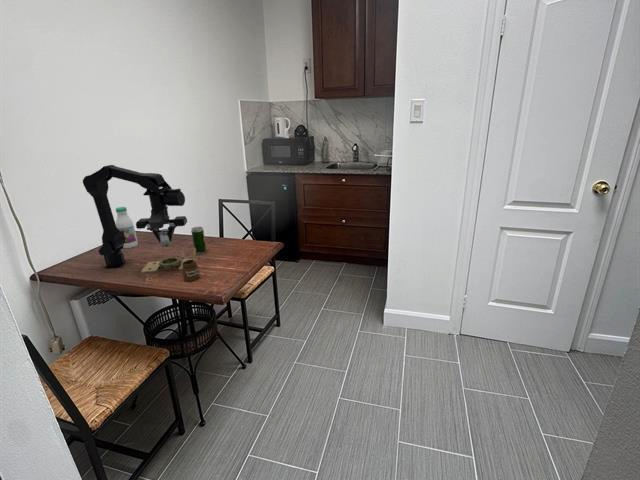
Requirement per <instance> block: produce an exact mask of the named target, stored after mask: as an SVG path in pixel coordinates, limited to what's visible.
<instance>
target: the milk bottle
mask: <svg viewBox="0 0 640 480" xmlns="http://www.w3.org/2000/svg"><path fill="white" fill-rule="evenodd" d="M115 213H116V215H117V216H116V220H115V224H116V227H117V229H119V230H120V231H124V236H125V238H126V239H125V244H124V246H123V249H132V248H135V247H137V246H138V245H139V242H138V238H137V237H138V236H137V234H136V229H135V226H134V222H133V220H132V218H131V217H130V216H129V215H128V210H127V207H126V206H119V207H116V208H115Z"/></svg>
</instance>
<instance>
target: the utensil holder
mask: <svg viewBox="0 0 640 480" xmlns="http://www.w3.org/2000/svg"><path fill="white" fill-rule="evenodd" d="M182 255H183V256H184V253H182V254H179V258H180V260H181V264H182V266H183V268H182V270H181V271H182V276H183V280H185V281H186V282H193V281H196V280H198V279H199V277H200V271H199V270H200V269H199V266H198V264H197V263H196V261H195V260H194V259H196V258H195V257H196V255H197V254H196V248H194V247H193V251H192V255H193V258H192V259H193V260H185V261H184V262H183V260H184V259H183V258H182ZM182 262H183V263H182Z"/></svg>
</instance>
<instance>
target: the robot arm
mask: <svg viewBox="0 0 640 480" xmlns="http://www.w3.org/2000/svg"><path fill="white" fill-rule="evenodd" d="M113 178H115V179H119V180H124V181H127V182H130V183H134V184H137V185H139V186H140V187H141V188H143V189H146V190H145V192H144V193H143V196H148V198H149V201H150V202H149V203H150V208H151V210H150V217H147V218H146V217H145V218H140V219H139V220H137V221H136V222H135V227H136V229H138V230H140V229H145V228H146V230H147V231H150V232H151V233H152V234H153V235H154V236H155V237H156V239H157V240H158V243H161V242H160V237H159V233H158V231H159V230H160V229H163V228H164V225H169V226H168V227H167V229H168V230H169V238H170V242H171V243H172V242H173V237H174V233H175V229H176V228H177V227H184V226H186V224H187V223H188V218H187V216H185V215H184V216H183V215H181V216H176V217H174V218H172V219H170V218H171V216H170V215H169V212H168V209H169V207H183V206H184V205H185V204H186V203H185V202H186V197H185V195H184V193H183V192H182V189H181V188H175V189H174V188H172V187H171V185H170V184H169V183H168V182H167V181H166V180H165V178H164V177H163V175H162V174H161V173H156V172H155V173H153V172H139V171H136V170H132V169H127V168H124V167H119V166H117V165H115V164H109V165H103V167H101V168H100V169H98V170H97V171H95V172H93V173H92V174H89V175H86V176H84V178H83V179H82V185H83V186H84V188H85V191H86V192H87V193H88V194H89V195H90V196H91V197H92V198H93V202H94V205H95V207H96V210H97V215H98V218H99V221H100V223H101V227H102V235H101V242H102V246H101V247H100V248H99V249H98V254H99V255H100V256H103V259H104V261H105V262H104V263H105V266H104V269H110V268H120V267H122V266H123V265H124V264H125V263H126V262H127V261H126V260H125V254H124V253H123V251H122V250H123V249H124V248H123V246H124V244H125V239H126V238H125V236H124V231H120V230H119V229H117V227H116V220H115V218H114V214H113V211H112V207H111V205H110V201H109V199H108V198H109V197H108V191H109V181H111V180H112V179H113ZM168 206H169V207H168Z"/></svg>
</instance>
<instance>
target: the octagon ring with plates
mask: <svg viewBox="0 0 640 480" xmlns="http://www.w3.org/2000/svg"><path fill="white" fill-rule="evenodd" d="M180 258H181V257H178V256H174V257H172V256H170V257H167V258H163V259H161V260H159V261H157V260H156V261H148V262H147V264H146V265H144V267H143V268H142V269H141V271H140V273H141V274H143V273H144V274H145V273H154V272H155V273H156V272H158V270H159V269H161V270H162V271H172V270H176V269H177V268H178V269H177V270H178V271H182V268H183V266H182V263H183V262H184V261H185V260H193V258H184V259H183V260H182V259H180ZM194 260H195V261H196V264H197V262H198V261H199V258H194ZM182 261H183V262H182Z"/></svg>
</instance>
